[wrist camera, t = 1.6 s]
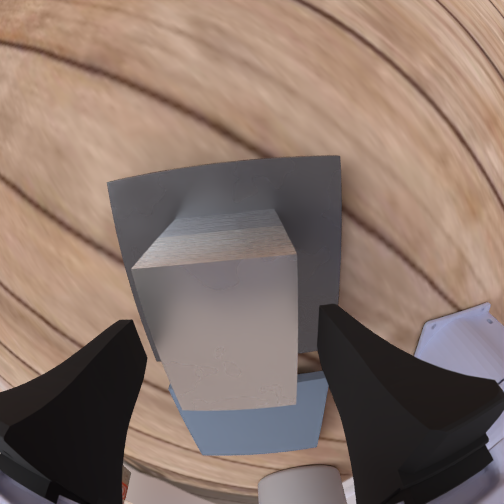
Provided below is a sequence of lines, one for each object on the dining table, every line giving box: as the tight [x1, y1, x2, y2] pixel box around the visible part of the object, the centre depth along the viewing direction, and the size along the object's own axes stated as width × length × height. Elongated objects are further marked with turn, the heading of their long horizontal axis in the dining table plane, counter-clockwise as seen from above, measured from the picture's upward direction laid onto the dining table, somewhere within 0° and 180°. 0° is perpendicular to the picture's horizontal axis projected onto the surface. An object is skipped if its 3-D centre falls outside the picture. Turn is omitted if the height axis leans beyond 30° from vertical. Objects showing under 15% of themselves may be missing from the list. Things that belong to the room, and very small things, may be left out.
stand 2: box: [169, 371, 328, 455], centre depth 21 cm, size 12×12×2 cm
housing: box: [131, 209, 298, 411], centre depth 12 cm, size 5×7×6 cm
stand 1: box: [107, 155, 342, 361], centre depth 16 cm, size 12×12×2 cm
